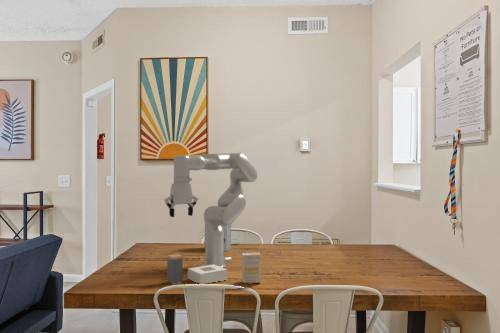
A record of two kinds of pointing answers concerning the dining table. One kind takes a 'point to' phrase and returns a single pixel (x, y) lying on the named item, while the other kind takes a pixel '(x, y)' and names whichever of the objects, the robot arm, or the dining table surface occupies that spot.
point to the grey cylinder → (174, 268)
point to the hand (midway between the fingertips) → (181, 216)
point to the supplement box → (251, 268)
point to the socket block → (207, 274)
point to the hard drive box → (226, 237)
